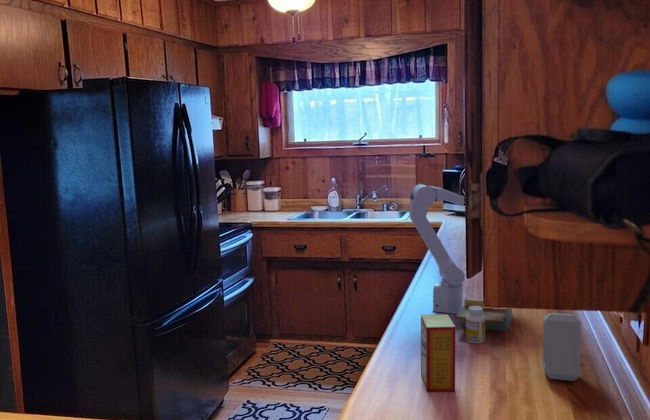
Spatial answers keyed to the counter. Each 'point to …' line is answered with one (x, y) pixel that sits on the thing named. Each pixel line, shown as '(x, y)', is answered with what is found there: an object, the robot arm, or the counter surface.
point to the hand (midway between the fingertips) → (495, 280)
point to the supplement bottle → (475, 325)
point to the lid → (490, 314)
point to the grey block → (562, 346)
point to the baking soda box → (438, 353)
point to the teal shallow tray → (497, 326)
